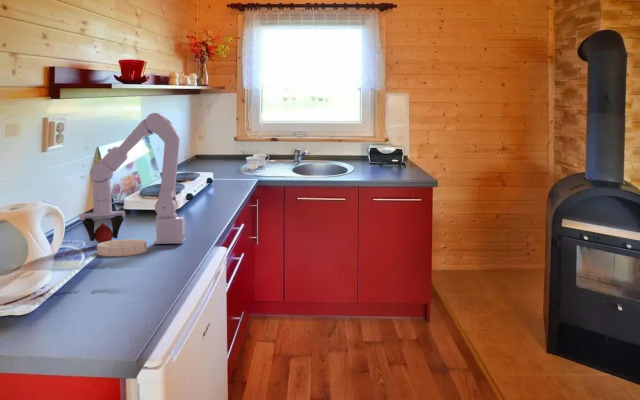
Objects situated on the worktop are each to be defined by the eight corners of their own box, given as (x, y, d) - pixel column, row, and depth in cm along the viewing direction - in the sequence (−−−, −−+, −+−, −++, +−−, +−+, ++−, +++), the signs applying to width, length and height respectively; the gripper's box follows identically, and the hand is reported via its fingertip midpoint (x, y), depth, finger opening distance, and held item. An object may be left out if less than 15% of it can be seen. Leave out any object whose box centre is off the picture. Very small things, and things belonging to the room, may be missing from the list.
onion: (115, 244, 169) (114, 221, 168) (109, 247, 163) (108, 223, 162) (98, 244, 168) (97, 221, 168) (91, 247, 163) (90, 223, 162)
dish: (151, 247, 164) (151, 238, 163) (141, 255, 149) (141, 246, 149) (104, 248, 161) (104, 239, 161) (90, 257, 147) (89, 248, 146)
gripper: (118, 197, 172) (120, 235, 173) (75, 200, 162) (77, 240, 163) (127, 199, 167) (128, 237, 168) (83, 201, 157) (84, 243, 158)
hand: (103, 239), depth 165 cm, fingers open, 7 cm apart
